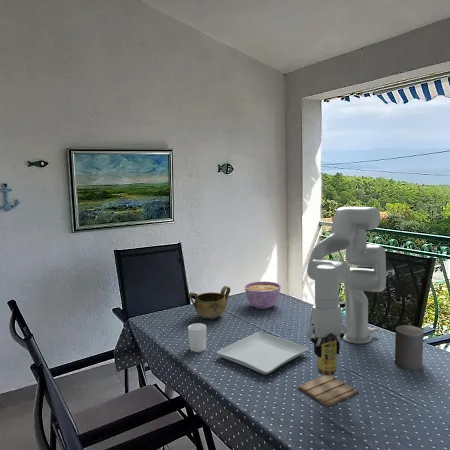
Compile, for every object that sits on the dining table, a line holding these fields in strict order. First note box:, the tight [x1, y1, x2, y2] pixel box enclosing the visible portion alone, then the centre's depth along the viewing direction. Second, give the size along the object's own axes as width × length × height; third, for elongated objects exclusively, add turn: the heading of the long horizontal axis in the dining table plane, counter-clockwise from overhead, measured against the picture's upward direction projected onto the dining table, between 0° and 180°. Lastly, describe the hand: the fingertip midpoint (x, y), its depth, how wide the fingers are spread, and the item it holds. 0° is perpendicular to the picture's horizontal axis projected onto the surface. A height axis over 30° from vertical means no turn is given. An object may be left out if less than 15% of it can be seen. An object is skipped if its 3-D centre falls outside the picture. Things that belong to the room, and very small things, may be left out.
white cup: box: [187, 322, 207, 353], centre depth 178 cm, size 8×8×10 cm
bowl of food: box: [244, 281, 281, 310], centre depth 229 cm, size 20×20×12 cm
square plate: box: [215, 331, 309, 375], centre depth 168 cm, size 27×27×4 cm
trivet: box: [297, 375, 359, 407], centre depth 141 cm, size 14×14×1 cm
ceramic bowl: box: [188, 285, 231, 320], centre depth 216 cm, size 22×17×15 cm
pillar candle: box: [394, 324, 425, 371], centre depth 156 cm, size 10×10×15 cm
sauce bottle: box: [316, 333, 338, 376], centre depth 139 cm, size 7×6×20 cm
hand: (327, 353), depth 139 cm, fingers closed on sauce bottle, 6 cm apart
